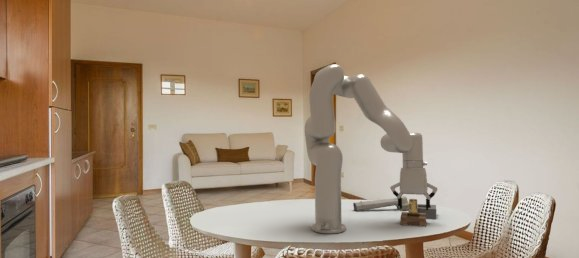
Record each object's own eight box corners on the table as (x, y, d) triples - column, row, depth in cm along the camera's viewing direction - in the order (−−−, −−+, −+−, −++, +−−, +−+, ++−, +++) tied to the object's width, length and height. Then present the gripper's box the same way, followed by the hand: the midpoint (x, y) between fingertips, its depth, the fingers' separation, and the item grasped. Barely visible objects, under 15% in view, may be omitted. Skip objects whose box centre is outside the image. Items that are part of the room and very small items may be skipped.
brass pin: (417, 224, 140) (417, 200, 140) (409, 223, 141) (408, 200, 141) (417, 222, 143) (417, 199, 143) (409, 221, 144) (409, 198, 144)
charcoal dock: (436, 219, 147) (436, 209, 147) (412, 217, 150) (412, 207, 150) (435, 214, 156) (435, 204, 156) (413, 213, 159) (413, 203, 159)
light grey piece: (352, 201, 168) (406, 192, 169) (354, 215, 168) (408, 207, 169) (354, 203, 162) (410, 194, 163) (357, 218, 162) (412, 209, 163)
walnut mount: (425, 226, 137) (425, 218, 137) (400, 224, 140) (400, 216, 140) (425, 220, 145) (425, 213, 145) (402, 219, 148) (401, 211, 148)
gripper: (436, 163, 143) (437, 208, 143) (390, 163, 149) (391, 205, 149) (437, 165, 136) (438, 212, 136) (388, 165, 142) (390, 209, 142)
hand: (413, 208), depth 142 cm, fingers open, 9 cm apart
